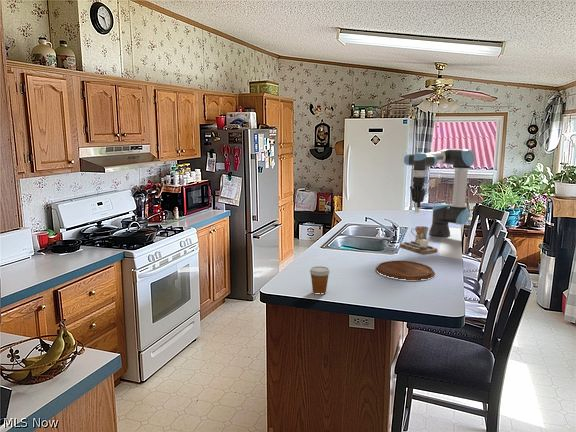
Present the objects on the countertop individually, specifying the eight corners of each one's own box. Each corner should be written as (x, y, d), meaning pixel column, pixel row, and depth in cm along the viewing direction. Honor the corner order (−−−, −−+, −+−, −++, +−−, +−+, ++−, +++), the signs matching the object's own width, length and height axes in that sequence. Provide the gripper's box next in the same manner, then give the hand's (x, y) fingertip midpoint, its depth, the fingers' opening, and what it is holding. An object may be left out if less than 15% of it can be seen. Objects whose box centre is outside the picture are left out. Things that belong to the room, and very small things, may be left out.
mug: (429, 241, 323) (430, 227, 321) (426, 244, 315) (427, 229, 313) (412, 239, 329) (413, 225, 327) (408, 242, 321) (409, 227, 319)
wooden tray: (399, 246, 309) (399, 241, 309) (412, 244, 315) (413, 239, 314) (423, 254, 290) (424, 249, 290) (437, 251, 296) (437, 247, 295)
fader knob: (419, 247, 298) (420, 239, 297) (424, 246, 300) (424, 238, 299) (423, 248, 296) (423, 240, 295) (427, 247, 298) (428, 239, 297)
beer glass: (308, 289, 225) (308, 266, 223) (327, 289, 226) (327, 265, 223) (310, 296, 215) (311, 272, 213) (330, 295, 216) (331, 271, 214)
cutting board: (402, 285, 233) (402, 280, 232) (364, 268, 260) (364, 264, 260) (447, 276, 247) (448, 272, 247) (407, 261, 275) (407, 257, 274)
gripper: (407, 176, 300) (405, 211, 305) (422, 177, 289) (420, 214, 294) (415, 175, 304) (413, 210, 308) (430, 177, 293) (428, 213, 297)
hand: (416, 212), depth 301 cm, fingers closed
